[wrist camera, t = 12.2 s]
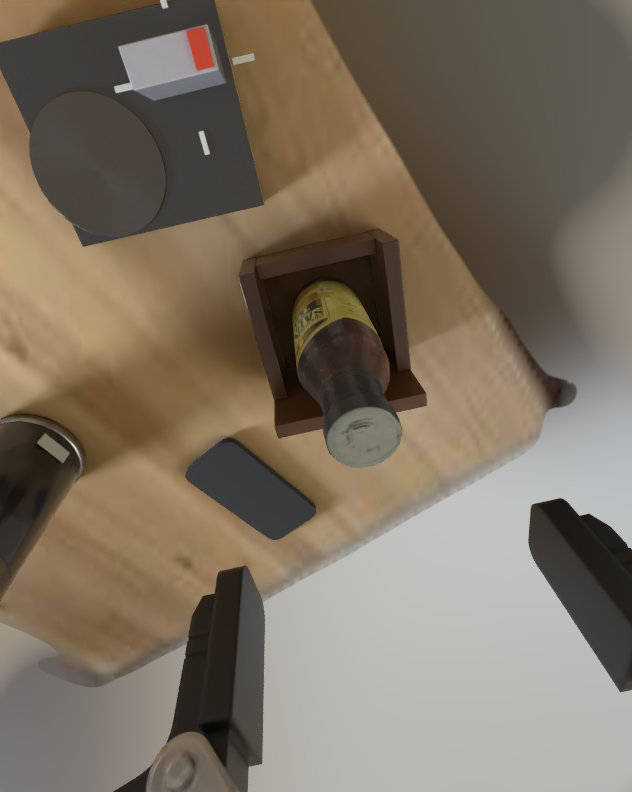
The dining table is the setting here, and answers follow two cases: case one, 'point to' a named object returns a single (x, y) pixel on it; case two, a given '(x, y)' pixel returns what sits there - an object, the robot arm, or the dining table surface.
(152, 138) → the burner ring
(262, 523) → the phone
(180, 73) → the knob
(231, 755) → the robot arm
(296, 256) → the spice rack
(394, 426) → the sauce bottle
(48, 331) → the dining table surface
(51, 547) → the dining table surface
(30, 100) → the hob
